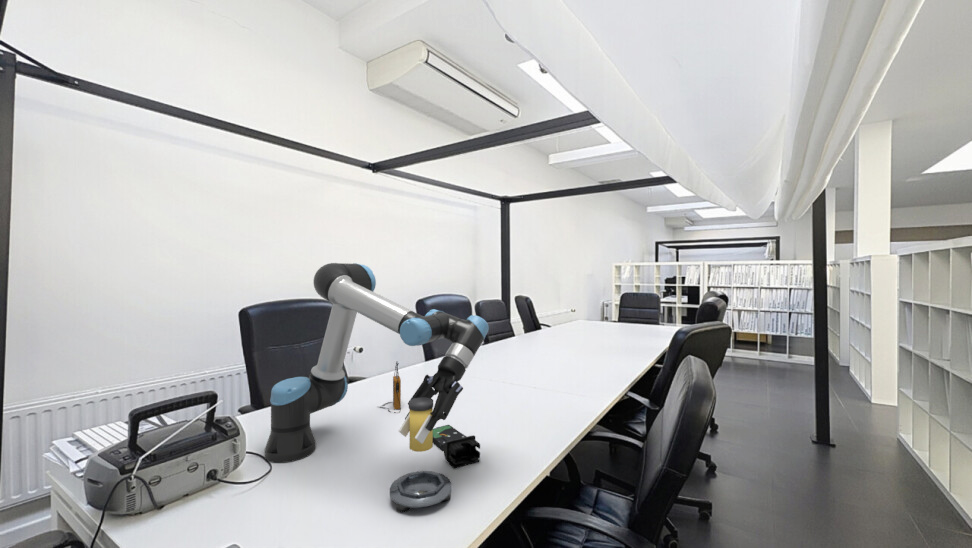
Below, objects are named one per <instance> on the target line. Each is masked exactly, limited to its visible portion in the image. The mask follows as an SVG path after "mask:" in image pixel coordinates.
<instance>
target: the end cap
mask: <svg viewBox="0 0 972 548" xmlns="http://www.w3.org/2000/svg"><path fill="white" fill-rule="evenodd" d="M477 448H478V449H477ZM479 449H481V443H480V442H478V441H477V440H476V435H473V434H472V435H469V436H467V437H464V438H460V439H455V440H451V441H447V442H445V443H444V447H443V451H442V452H443V455H444V456H443V457H444V458H445V460H446V462H447V464H449V466H451V467H452V468H453V470H455V469H460V468H463V467H467V466H470V465H474V464H478V463H479V462H480V458H481V452H480V451H479ZM452 468H451V469H452Z"/></svg>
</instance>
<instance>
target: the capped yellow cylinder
mask: <svg viewBox="0 0 972 548" xmlns="http://www.w3.org/2000/svg"><path fill="white" fill-rule="evenodd" d="M410 399H411V398H410ZM410 399H409V401H408V402H409V405H408V409H409V411H410V431H409V450H411V451H412V452H421V453H422V452H426V451H430V450H431V449H432V448H433V446H434V444H433V430H432V431H430V432H429V434H428V435H427V437H426V439H425V440H424V442H423V444H421V443H420V442H419V441H418V440H416V439H415V436H416V435H417V433H418V431H419V430H420V428H421V426H422V425H423V423H424V421H425V420H426V418H427V416H428V415H431V414H430V412H433V409H434V399H433V398H427V397H419V398H414V399H411V400H410ZM431 416H432V415H431Z"/></svg>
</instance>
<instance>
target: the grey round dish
mask: <svg viewBox="0 0 972 548" xmlns="http://www.w3.org/2000/svg"><path fill="white" fill-rule="evenodd" d="M451 491H452V481H451V479H450V478H449V477H448V476H447V475H446V474H443V473H441V472H438V471H432V470H418V471H411V472H409V473H406V474H403V475H400V476H399V477H398V478H396V479H394V481H393V482H392V483H391V485H390V487H389V497H390V499H391V500H392V501H393V502H394V503H395V504H396V505H395V507H396V512H398V513H407V512H409V511H410V510H411V509H412V508H414V509H418V508H426V507H431V506H434V505H437V504H440V503H441V504H445V503H449V501H451V493H452V492H451Z"/></svg>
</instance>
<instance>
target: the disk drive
mask: <svg viewBox="0 0 972 548" xmlns="http://www.w3.org/2000/svg"><path fill="white" fill-rule="evenodd" d="M464 437H468V436H467V435H465V434H464V433H462V432H460V431H459V430H458V429H456V428H454V427H453V425H450V424H445V425H442V426H435V428H433V446H436V447H437V448H438V449H440V450H441V451H442V452H444V451H443V447H444V443H445V442H447V441H451V440H455V439H460V438H464Z"/></svg>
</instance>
